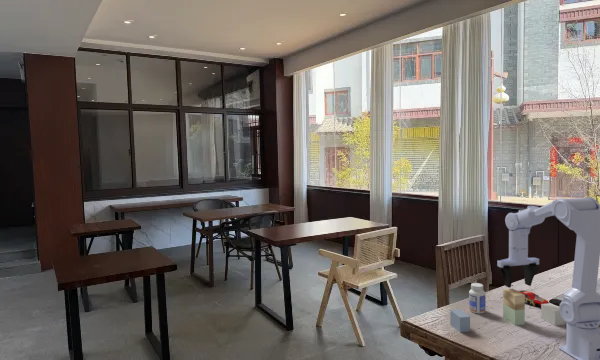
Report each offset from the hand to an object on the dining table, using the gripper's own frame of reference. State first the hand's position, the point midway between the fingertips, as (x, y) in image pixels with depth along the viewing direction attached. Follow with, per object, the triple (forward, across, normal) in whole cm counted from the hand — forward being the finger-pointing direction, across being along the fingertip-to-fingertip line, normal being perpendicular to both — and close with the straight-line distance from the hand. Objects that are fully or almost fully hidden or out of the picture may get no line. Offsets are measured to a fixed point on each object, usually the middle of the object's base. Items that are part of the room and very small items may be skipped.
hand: (518, 285), depth 137 cm
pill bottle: (+11, +11, -6) cm, 17 cm away
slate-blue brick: (+11, +24, +5) cm, 27 cm away
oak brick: (+6, +4, +4) cm, 8 cm away
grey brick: (+11, -8, +7) cm, 15 cm away
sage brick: (+11, +4, +4) cm, 12 cm away
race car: (+11, -12, -9) cm, 18 cm away
